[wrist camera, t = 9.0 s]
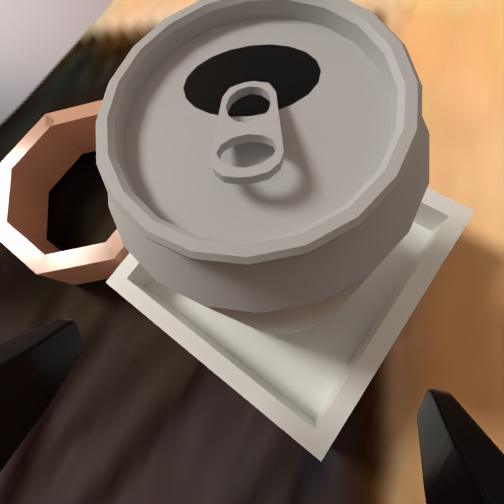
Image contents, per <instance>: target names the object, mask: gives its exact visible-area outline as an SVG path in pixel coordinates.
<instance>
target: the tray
mask: <svg viewBox="0 0 504 504" xmlns="http://www.w3.org/2000/svg"><path fill="white" fill-rule="evenodd" d="M474 212H475V211H473V210H471V209H469V208H467V207H465V206H463V205H461V204H459V203H457V202H455V201H453V200H451V199H449V198H447V197H445V196H443V195H441V194H439V193H437V192H435V191H433V190H431V189H429V188H427V189H426V192H425V194H424V196H423V199H422V201H421V204H420V206H419V209H418V211H417V214H416V216H415V219H414V221H413V224H412V226H411V229H410V231H409V232H408V234H407V235H406V236H405V237H404V238H403V239H402V240H401V241H400V242H399V243H398V245H397V246H396V247H395V248H394V249H393V250H392V251H391V252H390V253H389V254H388V256H387V257H386V258H385V259H384V260H383V261H382V262H381V263H380V264H379V265H378V266H377V268H376V269H375V270H374V271H373V272H372V273H371V274H370V275H369V276H368V277H367V279H366V280H365V281H364V282H363V283H362V284H361V285H360V286H359V287H358V288H357V290H356V291H355V292H354V293H353V294H352V295H351V296H350V297H349V298H348V299H347V301H346V302H345V303H344V304H343V305H342V306H341V307H340V308H339V309H338V310H337V311H336V313H335V314H334V315H333V316H332V317H331V318H330V319H328V320H326V321H325V322H323V323H321V324H319V325H317V326H315V327H314V328H312V329H310V330H307V331H302V332H296V333H291V334H285V335H283V334H276V333H269V332H262V331H258V330H256V329H254V328H252V327H249V326H247V325H245V324H243V323H241V322H238V321H236V320H234V319H232V318H229V317H227V316H225V315H223V314H221V313H218V312H216V311H214V310H212V309H210V308H207V307H205V306H203V305H201V304H199V303H197V302H195V301H193V300H191V299H189V298H187V297H185V296H183V295H181V294H179V293H178V292H176V291H174V290H172V289H170V288H168V287H166V286H164V285H162V284H160V283H158V282H156V281H155V279H154V278H153V277H152V276H151V275H150V274H149V273H148V272H147V271H146V270H145V269H144V267H143V266H142V265H141V264H140V263H139V262H138V261H137V260H136V259H135V258H134V257H133V255H132V254H131V253H129V254H128V255H127V256H126V258H125V259H124V260H123V261H122V263H121V264H120V265H119V266H118V268H117V269H116V270H115V271H114V273H113V274H112V275H111V276H110V278H109V279H108V280H107V281H106V283H107V284H108V285H109V286H110V287H112V288H113V289H114V290H115V291H116V292H118V293H119V294H120V295H121V296H122V297H124V298H125V299H126V300H127V301H128V302H130V303H131V304H132V305H133V306H134V307H136V308H137V309H138V310H139V311H140V312H142V313H143V314H144V315H145V316H147V317H148V318H149V319H150V320H151V321H153V322H154V323H155V324H156V325H157V326H159V327H160V328H161V329H162V330H163V331H165V332H166V333H167V334H168V335H169V336H171V337H172V338H173V339H174V340H175V341H177V342H178V343H179V344H180V345H181V346H183V347H184V348H185V349H186V350H187V351H189V352H190V353H191V354H192V355H193V356H195V357H196V358H197V359H198V360H199V361H201V362H202V363H203V364H204V365H205V366H207V367H208V368H209V369H210V370H211V371H213V372H214V373H215V374H216V375H218V376H219V377H220V378H221V379H222V380H224V381H225V382H226V383H227V384H228V385H230V386H231V387H232V388H233V389H234V390H236V391H237V392H238V393H239V394H240V395H242V396H243V397H244V398H245V399H246V400H248V401H249V402H250V403H251V404H252V405H254V406H255V407H256V408H257V409H258V410H260V411H261V412H262V413H263V414H264V415H266V416H267V417H268V418H269V419H270V420H272V421H273V422H274V423H275V424H276V425H278V426H279V427H280V428H281V429H282V430H284V431H285V432H286V433H287V434H288V435H290V436H291V437H292V438H293V439H295V440H296V441H297V442H298V443H299V444H301V445H302V446H303V447H304V448H305V449H307V450H308V451H309V452H310V453H311V454H313V455H314V456H315V457H316V458H317V459H319V460H320V461H322V459H323V458H324V456H325V455H326V453H327V451H328V450H329V448H330V446H331V445H332V443H333V442H334V440H335V438H336V437H337V435H338V433H339V432H340V430H341V429H342V427H343V425H344V424H345V422H346V420H347V419H348V417H349V416H350V414H351V412H352V411H353V409H354V407H355V406H356V404H357V402H358V401H359V399H360V398H361V396H362V394H363V393H364V391H365V389H366V388H367V386H368V385H369V383H370V381H371V380H372V378H373V376H374V375H375V373H376V372H377V370H378V368H379V367H380V365H381V363H382V362H383V360H384V359H385V357H386V355H387V354H388V352H389V350H390V349H391V347H392V346H393V344H394V342H395V341H396V339H397V337H398V336H399V334H400V333H401V331H402V329H403V328H404V326H405V324H406V323H407V321H408V320H409V318H410V316H411V315H412V313H413V311H414V310H415V308H416V306H417V305H418V303H419V302H420V300H421V298H422V297H423V295H424V293H425V292H426V290H427V289H428V287H429V285H430V284H431V282H432V280H433V279H434V277H435V276H436V274H437V272H438V271H439V269H440V267H441V266H442V264H443V263H444V261H445V259H446V258H447V256H448V254H449V253H450V251H451V250H452V248H453V246H454V245H455V243H456V241H457V240H458V238H459V237H460V235H461V233H462V232H463V230H464V228H465V227H466V225H467V223H468V222H469V220H470V219H471V217H472V215H473V214H474Z"/></svg>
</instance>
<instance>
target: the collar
mask: <svg viewBox="0 0 504 504" xmlns="http://www.w3.org/2000/svg"><path fill="white" fill-rule="evenodd" d="M102 102H103V100H100V101H96V102H92V103H88V104H84V105H80V106H76V107H72V108H68V109H64V110H60V111H56V112H52V113H48V114H45V115H44V116H43V117H42V118H41V119H40V121H39V122H38V123H37V124H36V125H35V126H34V127H33V128H32V129H31V130H30V131H29V132H28V133H27V135H26V136H25V137H24V138H23V139H22V140H21V141H20V142H19V143H18V144H17V145H16V146H15V147H14V149H13V150H12V151H11V152H10V153H9V154H8V155H7V156H6V157H5V158H4V159H3V160H2V161H1V163H0V242H1V243H3V244H4V245H5V246H6V247H7V248H8V249H9V250H10V251H11V252H13V253H14V254H15V255H16V256H17V257H18V258H19V259H20V260H21V261H23V262H24V263H25V264H26V265H27V266H28V267H29V268H30V269H31V270H33V271H34V272H35V273H36V274H38V275H41V276H45V277H48V278H52V279H55V280H59V281H62V282H66V283H69V284H73V285H78V284H83V283H88V282H93V281H98V280H103V279H109V278H110V276H111V275H112V274H113V273H114V271H115V270H116V269H117V268H118V266H119V265H120V264H121V263H122V261H123V260H124V259H125V258H126V256H127V255H128V254H129V253H130V252H129V251H128V250H127V249H126V248H125V247H124V244H123V241H122V239H121V236H120V234H119V231H118V229H116V231H115V232H114V233H113V234H112V235H111V237H110V238H109V239H108V240H107V241H106V242H105V243H100V244H95V245H90V246H85V247H80V248H75V249H71V250H66V251H60V250H59V249H58V248H56V247H55V246H54V245H53V244H52V243H51V242H49V241H48V240H47V218H48V197H49V191H50V190H51V189H52V188H53V187H54V185H55V184H56V183H57V182H58V181H59V180H60V179H61V178H62V176H63V175H64V174H65V173H66V172H67V171H68V170H69V169H70V167H71V166H72V165H73V164H74V163H75V162H76V161H77V159H78V158H79V157H80V156H81V155H82V154H84V153H88V152H93V151H96V120H97V117H98V114H99V111H100V108H101V105H102Z"/></svg>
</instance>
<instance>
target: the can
mask: <svg viewBox="0 0 504 504" xmlns="http://www.w3.org/2000/svg"><path fill="white" fill-rule="evenodd" d="M96 164H97V167H98V169H99V172H100V174H101V177H102V179H103V182H104V184H105V187H106V189H107V192H108V206H109V209H110V211H111V214H112V216H113V219H114V221H115V224H116V226H117V229H118V231H119V234H120V236H121V239H122V241H123V244H124V247H125V248H126V249H127V250H128V251H129V252H130V253H131V254H132V255H133V257H134V258H135V259H136V260H137V261H138V262H139V263H140V264H141V265H142V266H143V267H144V269H145V270H146V271H147V272H148V273H149V274H150V275H151V276H152V277H153V278H154V279H155V281H156V282H158V283H160V284H162V285H164V286H166V287H168V288H170V289H172V290H174V291H176V292H178V293H179V294H181V295H183V296H185V297H187V298H189V299H191V300H193V301H195V302H197V303H199V304H201V305H203V306H205V307H207V308H210V309H212V310H214V311H216V312H218V313H221V314H223V315H225V316H227V317H229V318H232V319H234V320H236V321H238V322H241V323H243V324H245V325H247V326H249V327H252V328H254V329H256V330H258V331H262V332H269V333H276V334H283V335H285V334H291V333H296V332H302V331H307V330H310V329H312V328H314V327H315V326H317V325H319V324H321V323H323V322H325V321H326V320H328V319H330V318H331V317H332V316H333V315H334V314H335V313H336V311H337V310H338V309H339V308H340V307H341V306H342V305H343V304H344V303H345V302H346V301H347V299H348V298H349V297H350V296H351V295H352V294H353V293H354V292H355V291H356V290H357V288H358V287H359V286H360V285H361V284H362V283H363V282H364V281H365V280H366V279H367V277H368V276H369V275H370V274H371V273H372V272H373V271H374V270H375V269H376V268H377V266H378V265H379V264H380V263H381V262H382V261H383V260H384V259H385V258H386V257H387V256H388V254H389V253H390V252H391V251H392V250H393V249H394V248H395V247H396V246H397V245H398V243H399V242H400V241H401V240H402V239H403V238H404V237H405V236H406V235H407V234H408V232H409V231H410V229H411V226H412V224H413V221H414V219H415V216H416V214H417V211H418V209H419V206H420V204H421V201H422V199H423V196H424V194H425V192H426V189H427V187H428V184H429V132H428V130H427V127H426V125H425V122H424V120H423V117H422V85H421V82H420V80H419V77H418V75H417V73H416V70H415V68H414V65H413V63H412V61H411V58H410V56H409V53H408V51H407V49H406V46H405V45H404V44H403V43H402V42H401V40H400V39H399V38H398V37H397V36H396V35H395V34H394V33H393V32H392V31H391V30H390V29H389V28H388V27H387V26H386V25H385V24H384V23H383V22H382V21H381V20H380V19H379V18H378V17H377V16H376V15H375V14H374V13H372V12H371V11H369V10H367V9H365V8H363V7H361V6H359V5H357V4H355V3H353V2H351V1H349V0H199V1H198V2H196V3H194V4H192V5H190V6H188V7H186V8H184V9H183V10H181V11H179V12H177V13H175V14H173V15H171V16H169V17H168V18H166V19H164V20H163V21H162V22H161V23H160V24H159V25H158V26H156V27H155V28H154V29H153V30H152V31H151V32H150V33H148V34H147V35H146V36H145V37H144V38H143V39H142V40H140V41H139V42H138V43H137V44H136V45H135V46H134V47H133V48H132V49H131V51H130V52H129V54H128V55H127V57H126V58H125V60H124V61H123V62H122V64H121V65H120V67H119V68H118V70H117V71H116V73H115V74H114V76H113V77H112V78H111V80H110V82H109V83H108V86H107V89H106V92H105V96H104V99H103V102H102V105H101V108H100V111H99V114H98V117H97V120H96Z"/></svg>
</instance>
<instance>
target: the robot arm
mask: <svg viewBox="0 0 504 504" xmlns="http://www.w3.org/2000/svg"><path fill="white" fill-rule="evenodd" d="M82 349H83V339H82V335H81V332H80V329H79V326H78V323H77V322H76V321H75V320H71V319H66V318H59V319H57V320H55V321H52V322H50V323H48V324H45V325H43V326H41V327H38V328H36V329H34V330H31V331H29V332H27V333H24V334H22V335H20V336H17V337H15V338H13V339H10V340H8V341H6V342H3V343H1V344H0V472H1V470H2V469H3V468H4V466H5V465H6V463H7V462H8V461H9V459H10V458H11V457H12V455H13V454H14V452H15V451H16V450H17V448H18V447H19V445H20V444H21V443H22V441H23V440H24V439H25V437H26V436H27V434H28V433H29V432H30V430H31V429H32V428H33V426H34V425H35V423H36V422H37V421H38V419H39V418H40V417H41V415H42V414H43V412H44V411H45V410H46V408H47V407H48V405H49V404H50V402H51V401H52V399H53V398H54V396H55V394H56V393H57V391H58V390H59V388H60V386H61V385H62V383H63V381H64V380H65V378H66V376H67V375H68V373H69V371H70V369H71V368H72V366H73V364H74V363H75V361H76V359H77V358H78V356H79V354H80V353H81V351H82ZM417 423H418V433H419V443H420V453H421V463H422V472H423V482H424V491H425V498H426V503H427V504H504V454H503V453H502V452H501V451H500V449H499V448H498V447H497V446H496V445H495V444H494V443H493V441H492V440H491V439H490V438H489V437H488V436H487V435H486V433H485V432H484V431H483V430H482V429H481V428H480V427H479V425H478V424H477V423H476V422H475V421H474V420H473V419H472V417H471V416H470V415H469V414H468V413H467V412H466V411H465V409H464V408H463V407H462V406H461V405H460V404H459V403H458V401H457V400H456V399H455V398H454V397H453V396H452V395H451V394H450V393H448V392H444V391H439V390H434V389H430V390H428V391H427V393H426V395H425V397H424V399H423V402H422V404H421V406H420V409H419V411H418V417H417Z"/></svg>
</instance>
